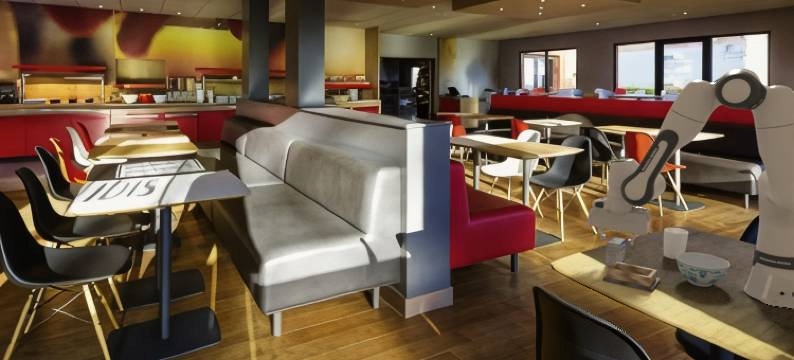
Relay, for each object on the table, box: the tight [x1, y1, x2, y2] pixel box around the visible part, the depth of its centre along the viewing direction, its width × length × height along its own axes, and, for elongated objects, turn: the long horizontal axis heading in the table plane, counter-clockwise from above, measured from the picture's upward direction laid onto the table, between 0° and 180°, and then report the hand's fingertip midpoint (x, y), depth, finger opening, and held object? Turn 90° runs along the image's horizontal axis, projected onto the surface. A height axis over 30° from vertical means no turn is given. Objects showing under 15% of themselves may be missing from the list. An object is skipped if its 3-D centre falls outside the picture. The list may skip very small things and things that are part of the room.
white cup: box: [663, 227, 689, 260], centre depth 194 cm, size 8×8×10 cm
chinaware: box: [675, 252, 731, 288], centre depth 170 cm, size 15×15×8 cm
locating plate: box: [602, 262, 661, 293], centre depth 172 cm, size 15×11×4 cm
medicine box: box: [605, 237, 626, 267], centre depth 187 cm, size 8×4×9 cm, turn 143°
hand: (616, 242), depth 186 cm, fingers open, 8 cm apart
